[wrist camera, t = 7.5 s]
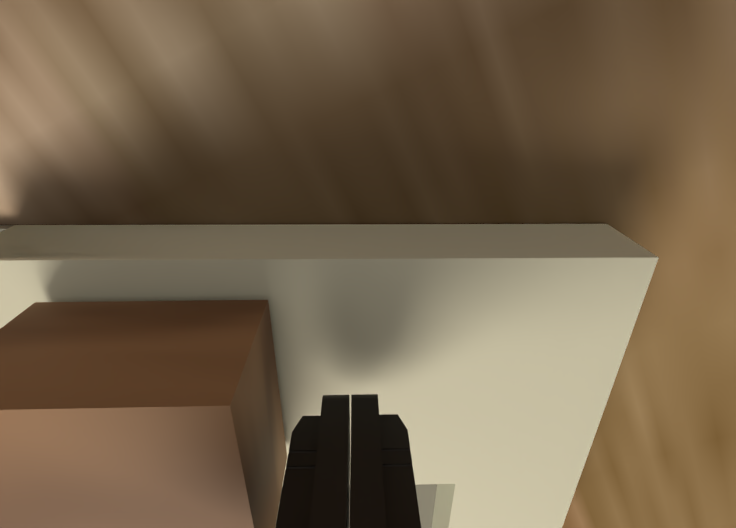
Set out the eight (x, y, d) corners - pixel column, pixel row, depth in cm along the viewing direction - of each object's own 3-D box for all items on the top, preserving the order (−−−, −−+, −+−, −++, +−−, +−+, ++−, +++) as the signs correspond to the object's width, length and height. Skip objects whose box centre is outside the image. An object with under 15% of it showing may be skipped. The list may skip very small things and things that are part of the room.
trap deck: (-416, 226, 12) (-858, 322, 8) (606, 223, 13) (736, 308, 9) (-130, 543, 19) (-276, 689, 15) (520, 528, 20) (567, 661, 16)
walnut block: (42, 296, 11) (-109, 411, 7) (270, 293, 11) (229, 405, 8) (106, 452, 14) (17, 593, 10) (288, 448, 14) (265, 585, 10)
